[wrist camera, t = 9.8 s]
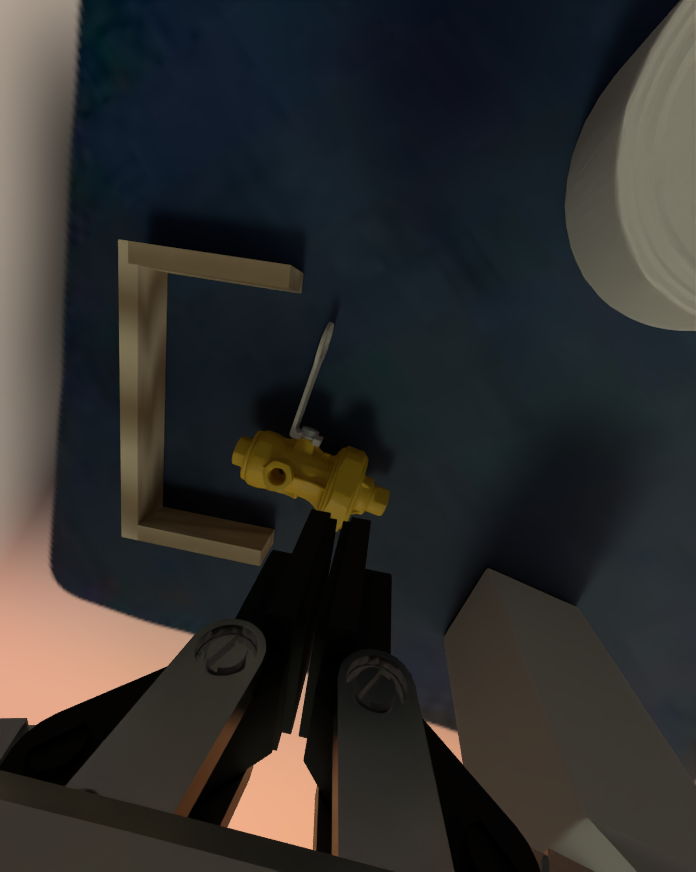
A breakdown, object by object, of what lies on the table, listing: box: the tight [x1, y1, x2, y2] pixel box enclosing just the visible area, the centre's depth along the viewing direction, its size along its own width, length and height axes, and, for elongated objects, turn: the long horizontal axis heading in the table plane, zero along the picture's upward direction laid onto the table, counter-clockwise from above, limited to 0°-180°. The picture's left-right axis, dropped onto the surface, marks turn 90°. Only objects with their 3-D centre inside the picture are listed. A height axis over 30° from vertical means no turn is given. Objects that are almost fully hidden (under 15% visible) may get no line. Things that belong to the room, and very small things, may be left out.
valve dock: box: [118, 239, 303, 566], centre depth 26 cm, size 19×10×3 cm, turn 171°
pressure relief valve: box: [232, 322, 390, 532], centre depth 24 cm, size 6×12×10 cm
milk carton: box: [444, 568, 696, 872], centre depth 19 cm, size 7×7×19 cm
